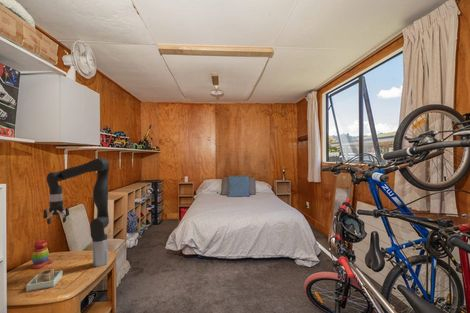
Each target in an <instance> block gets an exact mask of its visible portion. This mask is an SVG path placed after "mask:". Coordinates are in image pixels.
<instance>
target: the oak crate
mask: <svg viewBox="0 0 470 313" xmlns="http://www.w3.org/2000/svg"><path fill="white" fill-rule="evenodd" d="M54 270H55V269H54V268H52V269H46V270H41V271H40V272H39V273H37V274H38V275H37V274H36V275H37V283H41V282H47V281H52V280H53V279H54V272H55V271H54Z"/></svg>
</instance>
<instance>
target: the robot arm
mask: <svg viewBox="0 0 470 313" xmlns="http://www.w3.org/2000/svg"><path fill="white" fill-rule="evenodd" d="M109 170H110V162H109V160H108V159H107V158H104V157H100V158H99V157H98V158H95V159H92V160H90V161H88V162H85V163H82V164H80V165H76V166H72V167H68V168H65V169H63V170H60V171H59V170H58V171H52V172H49V173H47V175H46V182H47V186H48V188H49V198H48V200H49V202H48V204H49V206H48V207H49V208H45V209H44V210H43V216H42V217H43V219H46V223H47V224H48V225H50V224H51V223H52V220H51V217H52V216H55V215H56V216H57V215H60V216H61V217H62V223H66V221H67V217H69V216H70V208H69V206H68V207H64V195H63V186H62V185H60V184H59V182H63V181H65V180H68V179H71V178H72V179H73V178H75V177H79V176H81V175H84V174H86V173H87V174H88V173H91V172H96V173H97V177H96V178H97V179H96V181H95V183H94V186H93V190H92V200H93V203H94V205H95V207H96V209H97V210H96V211H97V212H96V213H97V214H96V218H93V219H92V220H91V221H90V224H89V225H90V226H89V230H90V232H89V233H90V238H91V244H92V246H91V248H92V266H93V267H95V268H96V267H102V266H104V265H108V263H109V260H110V259H109V247H108V234H107V233H105V229H106V228H107V227H108V226H109V222H110V219H109V208H108V206H109ZM48 212H49V214H48Z"/></svg>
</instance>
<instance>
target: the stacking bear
mask: <svg viewBox="0 0 470 313" xmlns="http://www.w3.org/2000/svg"><path fill="white" fill-rule="evenodd" d="M47 246H48V241H46V240H45V238H41V239H39V240H37V241H35V242H34V244H33V247H34V249H33V251H32V253H31V262H32V266H31V267H32V269H36V270H39V269H42V268H44V267H45V266H47V265H50V264H52V263H53V260H52V259H49V256H50V253H49V248H48V247H47Z"/></svg>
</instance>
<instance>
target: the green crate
mask: <svg viewBox="0 0 470 313" xmlns="http://www.w3.org/2000/svg"><path fill="white" fill-rule="evenodd" d="M38 274H39V273H37V274H36V275H35V276H34V277H33V278H32V279H31V280H30V281H29V282H28V283H27V284H26V285H25V286H26V287H25V291H26V293H27V292H31V291H36V290H37V291H38V290H43V289H49V288H54V287H55V286H56V285H57V283H58V282H59V281H60V280H61V278H62V277H63V275H64V274H63V270H61V269H60V270H57V271H56V270H55V271H54V279H53V280H52V281H47V282H41V283H37V275H38Z"/></svg>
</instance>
